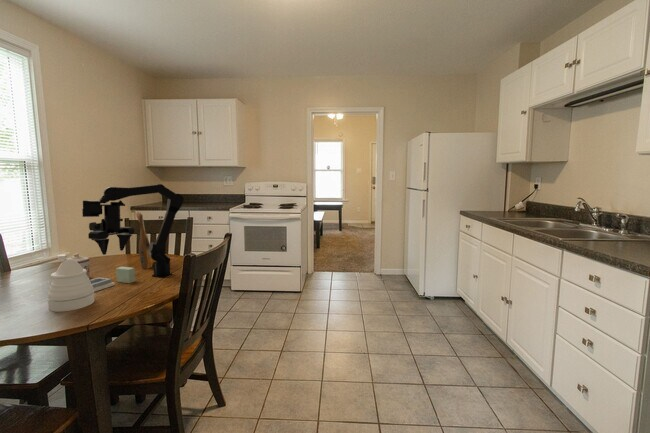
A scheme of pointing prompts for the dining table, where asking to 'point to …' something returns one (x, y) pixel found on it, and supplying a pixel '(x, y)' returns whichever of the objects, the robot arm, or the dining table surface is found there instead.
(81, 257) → the teacup with lid
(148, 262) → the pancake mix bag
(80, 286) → the honey pot
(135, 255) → the dining table surface
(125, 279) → the pale green block
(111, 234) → the robot arm
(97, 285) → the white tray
